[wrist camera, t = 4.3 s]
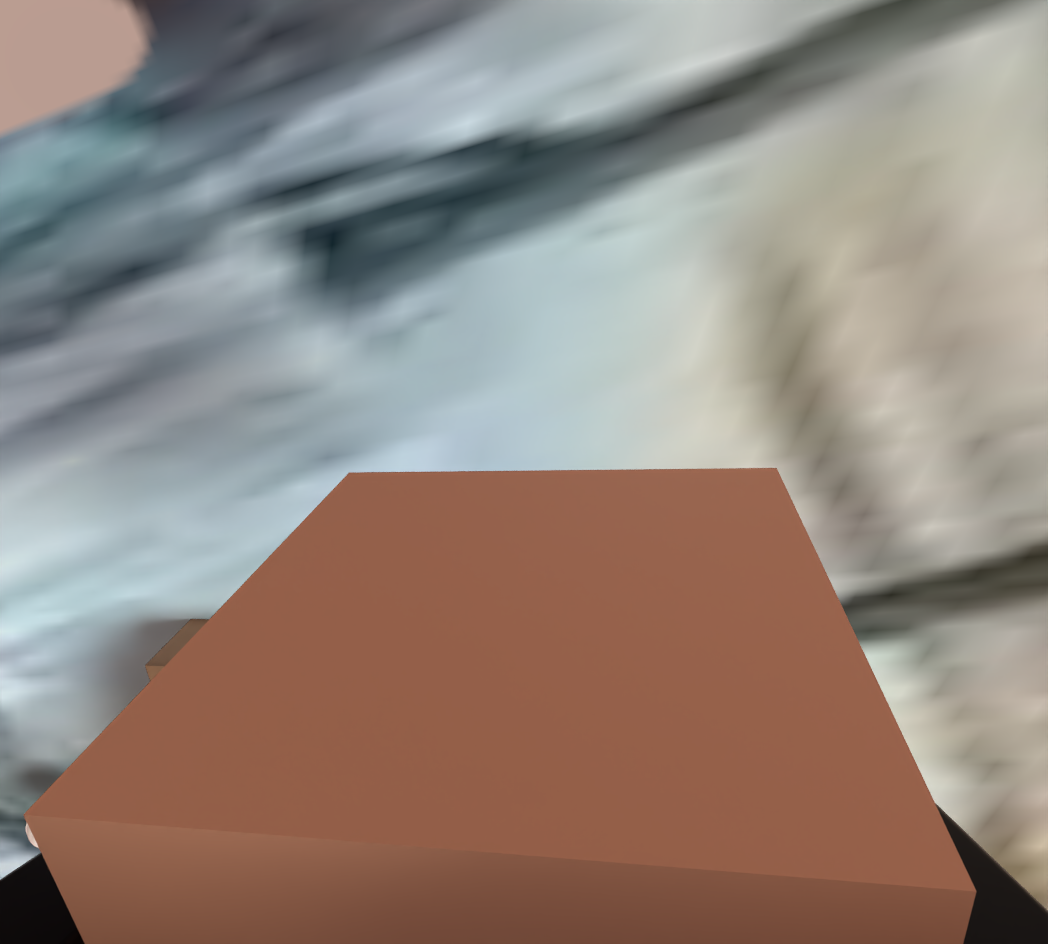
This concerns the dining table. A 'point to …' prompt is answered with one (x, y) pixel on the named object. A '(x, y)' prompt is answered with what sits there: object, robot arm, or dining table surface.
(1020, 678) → the dining table surface
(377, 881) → the terracotta cube
